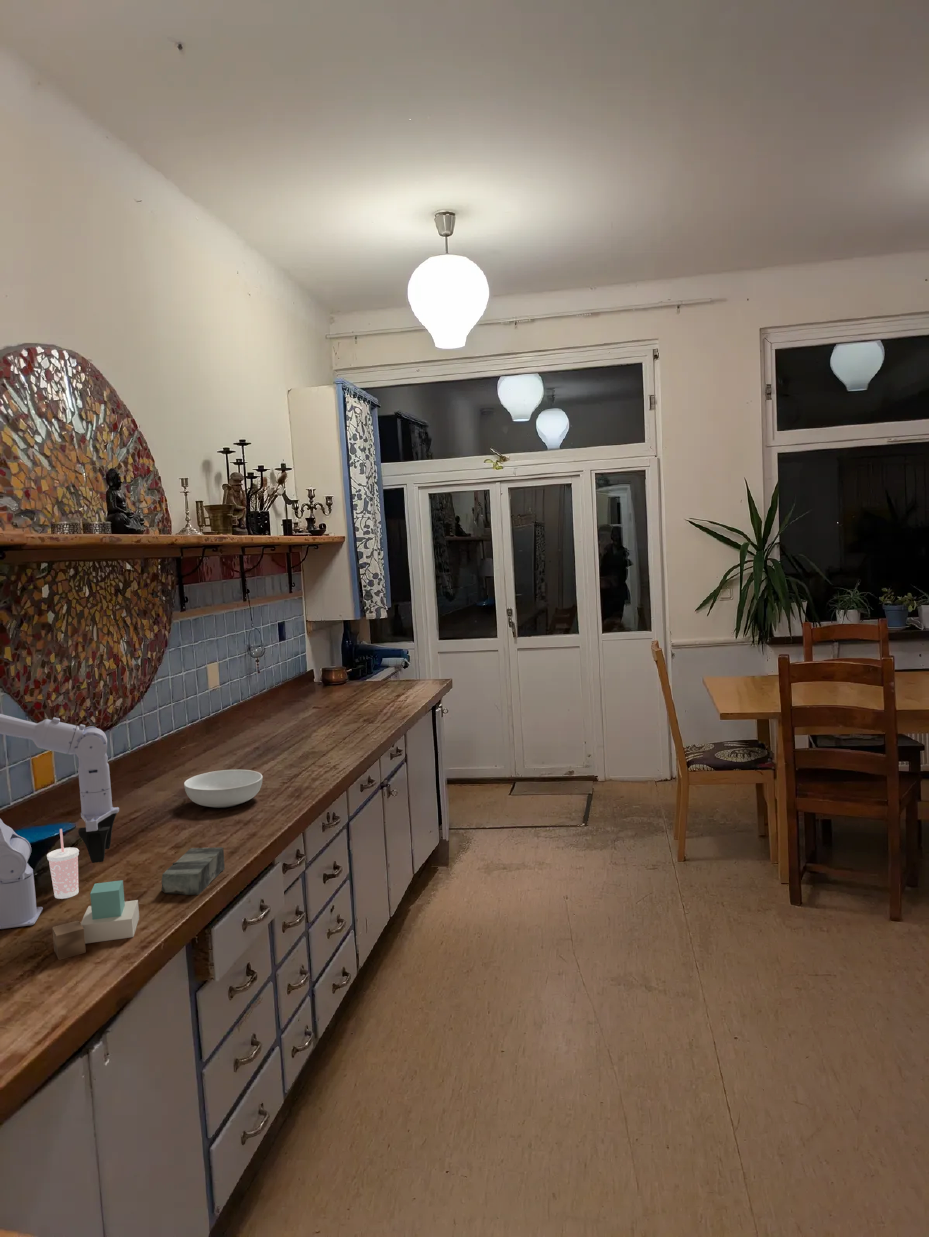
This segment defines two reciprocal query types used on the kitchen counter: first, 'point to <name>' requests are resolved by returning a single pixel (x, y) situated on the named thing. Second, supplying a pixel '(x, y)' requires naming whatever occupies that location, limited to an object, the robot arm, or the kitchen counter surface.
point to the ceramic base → (111, 924)
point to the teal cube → (107, 899)
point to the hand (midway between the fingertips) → (101, 855)
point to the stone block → (193, 871)
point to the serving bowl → (223, 787)
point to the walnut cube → (68, 939)
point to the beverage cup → (64, 870)
